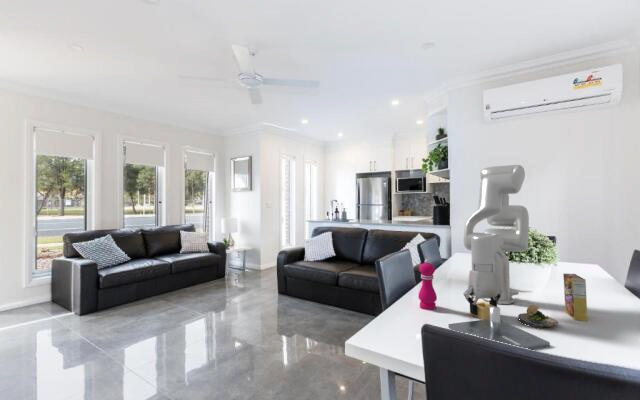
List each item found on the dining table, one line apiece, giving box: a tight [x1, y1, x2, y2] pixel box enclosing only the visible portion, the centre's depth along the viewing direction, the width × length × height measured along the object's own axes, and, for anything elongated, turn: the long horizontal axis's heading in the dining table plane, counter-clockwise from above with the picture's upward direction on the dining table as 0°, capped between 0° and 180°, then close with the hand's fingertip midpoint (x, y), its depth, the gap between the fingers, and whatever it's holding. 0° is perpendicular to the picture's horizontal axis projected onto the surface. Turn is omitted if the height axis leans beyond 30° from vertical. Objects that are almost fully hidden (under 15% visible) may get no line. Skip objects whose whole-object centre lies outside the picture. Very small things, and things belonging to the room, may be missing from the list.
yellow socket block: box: [469, 301, 493, 320], centre depth 116 cm, size 7×7×5 cm
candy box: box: [563, 273, 588, 322], centre depth 114 cm, size 9×4×15 cm, turn 158°
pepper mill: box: [417, 258, 437, 311], centre depth 126 cm, size 7×7×20 cm
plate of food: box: [517, 301, 559, 330], centre depth 108 cm, size 12×12×8 cm
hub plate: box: [448, 306, 551, 350], centre depth 98 cm, size 20×20×9 cm
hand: (483, 312), depth 116 cm, fingers open, 8 cm apart
